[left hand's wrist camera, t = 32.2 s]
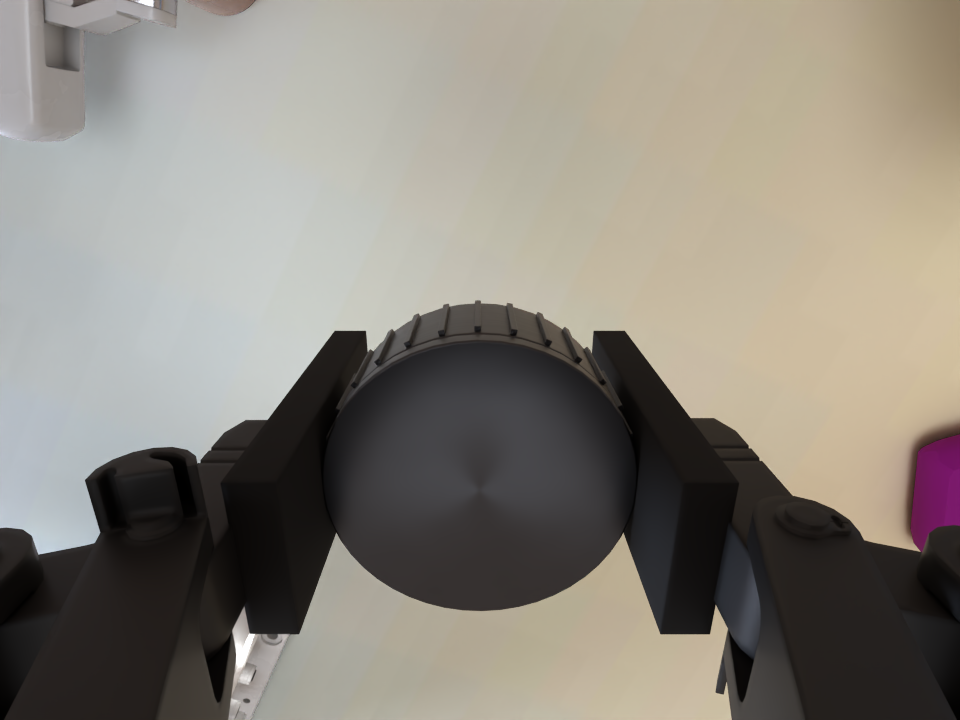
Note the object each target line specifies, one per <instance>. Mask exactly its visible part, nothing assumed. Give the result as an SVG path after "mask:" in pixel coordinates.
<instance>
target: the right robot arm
mask: <svg viewBox="0 0 960 720" xmlns="http://www.w3.org/2000/svg"><path fill="white" fill-rule="evenodd" d="M140 19H142V20H146V21H150V22H154V23H157V24H161V25H165V26H169V27H174V28H176V20H177V0H0V135H2V136H5V137H9V138H13V139H17V140H23V141H35V142H57V141H64V140H66V139H68V138H70V137H72V136H73V135H75V134H77V133H79V132H80V131H82V130H83V128H84V126H85V71H84V31H87V32H91V33H95V34H99V35H103V36H105V35H108V34H110V33H113V32H116V31H118V30H121V29H123V28H126V27H128V26H131V25H133V24H136V23H139V22H140ZM232 632H233V637H234V641H235V647H236V655H237V656H236V664H235V672H234V679H233V687H232V695H231V703H230V710H229V718H228V720H251V719H252V717H253V714H254V712H255V710H256V708H257V706H258V703H259V701H260V699H261V697H262V695H263V692H264V690H265V688H266V686H267V684H268V681H269V679H270V677H271V675H272V673H273V670H274V668H275V666H276V664H277V661H278V659H279V657H280V655H281V653H282V650H283V648H284V646H285V644H286V642H287V639H288V637H289V635H290V634H250V633H249V628H248V623H247V617H246V612H245V607H244V608H243V610H242V612H241V614H240V616H239V618H238V620H237V622H236V624H235V626H234V628H233V630H232Z"/></svg>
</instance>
